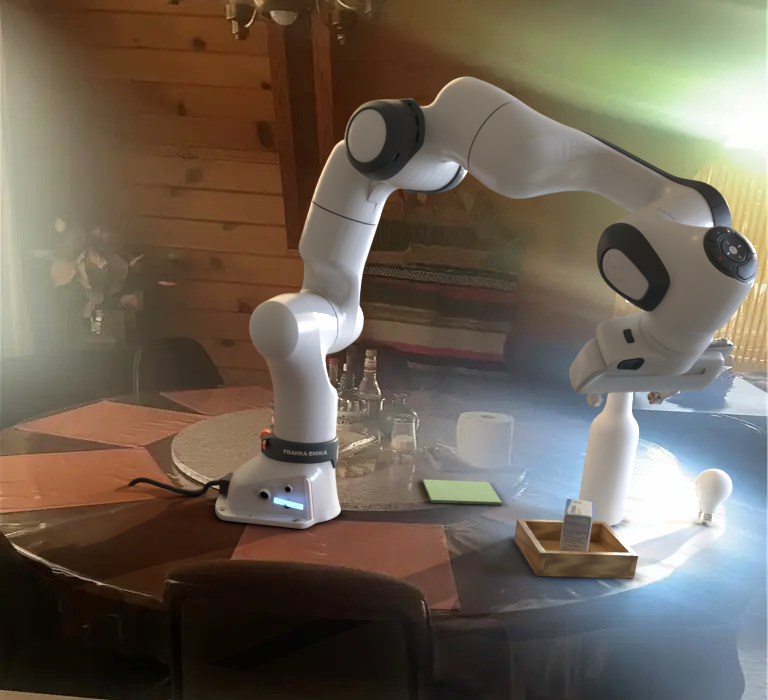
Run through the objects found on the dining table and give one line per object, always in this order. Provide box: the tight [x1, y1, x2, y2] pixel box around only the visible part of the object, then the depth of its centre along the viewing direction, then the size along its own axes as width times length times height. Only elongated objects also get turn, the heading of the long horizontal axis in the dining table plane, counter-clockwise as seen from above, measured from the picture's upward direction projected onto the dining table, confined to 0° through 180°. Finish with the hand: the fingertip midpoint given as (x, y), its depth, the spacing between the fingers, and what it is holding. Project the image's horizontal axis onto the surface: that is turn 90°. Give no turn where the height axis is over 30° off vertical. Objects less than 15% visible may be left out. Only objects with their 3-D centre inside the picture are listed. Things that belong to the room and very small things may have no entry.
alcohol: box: [577, 392, 640, 527], centre depth 141 cm, size 9×9×30 cm
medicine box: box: [560, 498, 593, 552], centre depth 125 cm, size 8×4×9 cm, turn 165°
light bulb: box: [694, 468, 733, 525], centre depth 145 cm, size 7×7×11 cm
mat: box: [422, 479, 503, 506], centre depth 153 cm, size 14×12×1 cm
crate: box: [513, 518, 639, 579], centre depth 126 cm, size 16×14×4 cm
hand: (622, 401), depth 109 cm, fingers open, 8 cm apart
